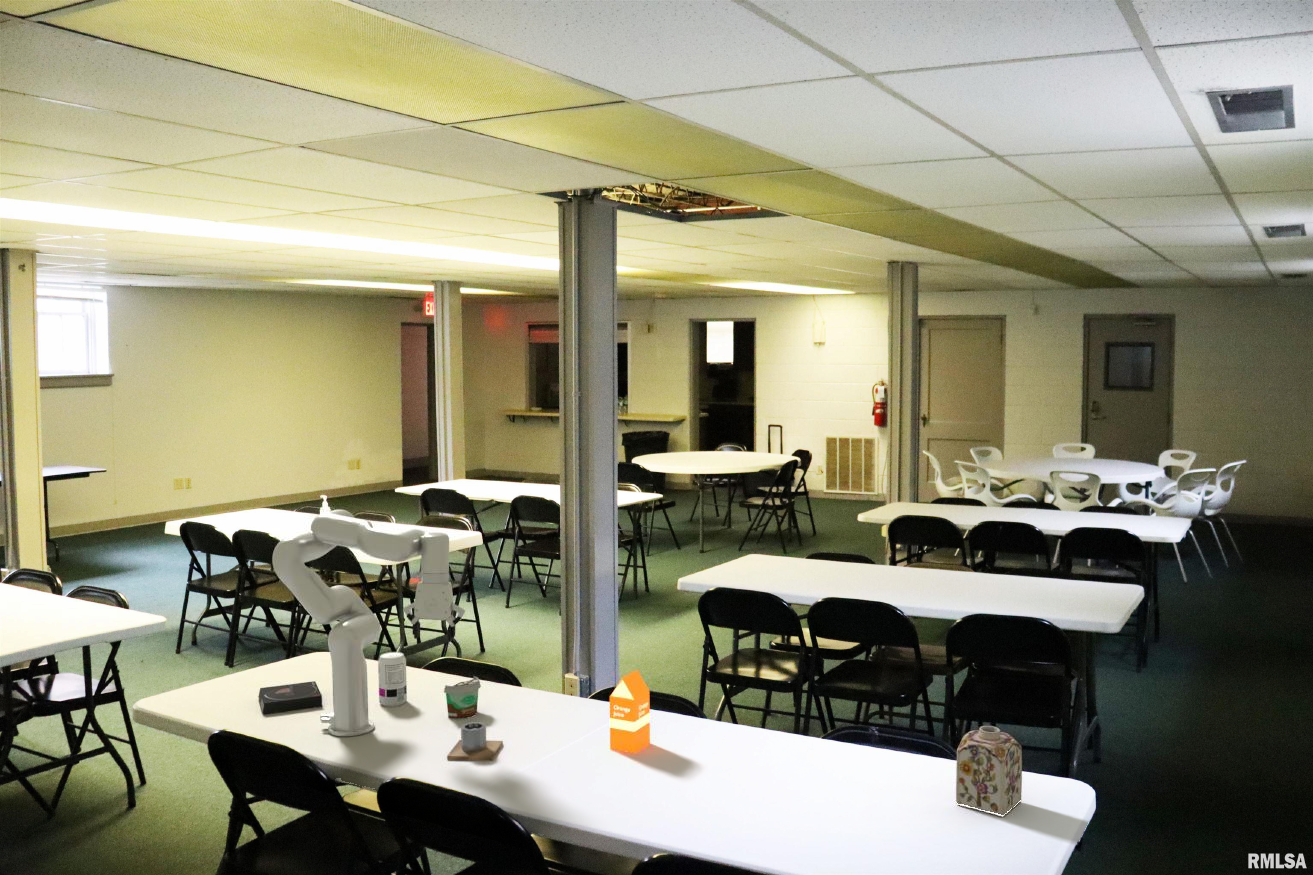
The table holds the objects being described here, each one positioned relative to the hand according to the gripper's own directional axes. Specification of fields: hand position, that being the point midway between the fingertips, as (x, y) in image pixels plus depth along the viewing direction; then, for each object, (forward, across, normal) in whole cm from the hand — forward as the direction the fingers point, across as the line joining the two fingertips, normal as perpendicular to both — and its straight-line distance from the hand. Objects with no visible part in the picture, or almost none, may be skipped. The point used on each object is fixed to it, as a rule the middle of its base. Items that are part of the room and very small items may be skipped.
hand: (433, 638), depth 295 cm
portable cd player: (+31, -53, +25) cm, 66 cm away
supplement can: (+29, -21, +27) cm, 45 cm away
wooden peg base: (+27, +16, -11) cm, 33 cm away
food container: (+28, +5, +18) cm, 34 cm away
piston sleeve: (+26, +15, -11) cm, 32 cm away
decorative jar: (+22, +145, -33) cm, 150 cm away
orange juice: (+26, +56, -3) cm, 62 cm away
